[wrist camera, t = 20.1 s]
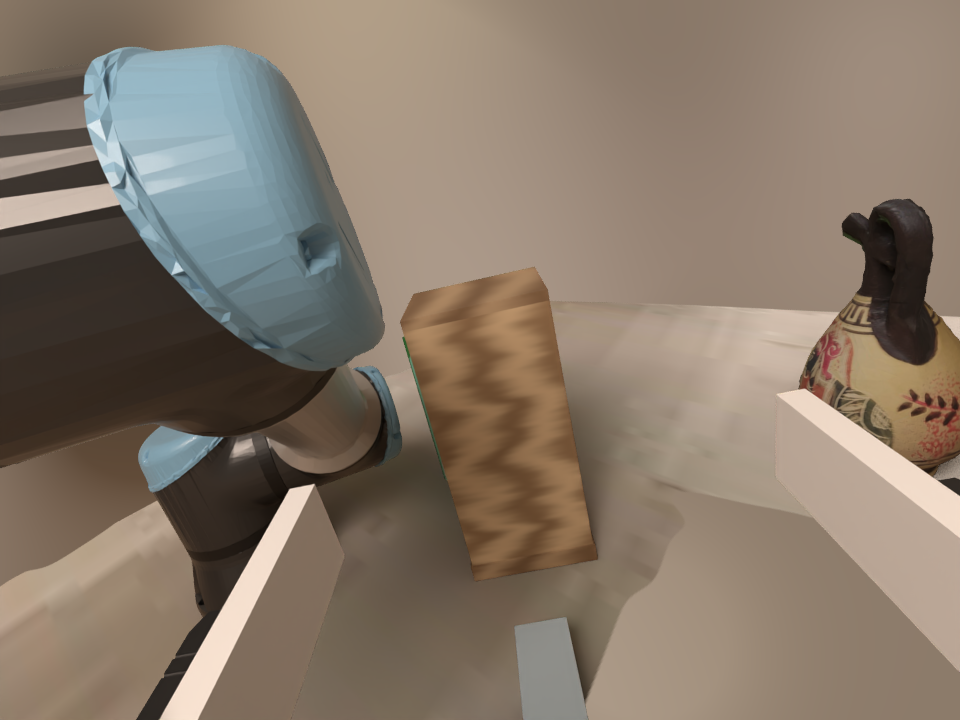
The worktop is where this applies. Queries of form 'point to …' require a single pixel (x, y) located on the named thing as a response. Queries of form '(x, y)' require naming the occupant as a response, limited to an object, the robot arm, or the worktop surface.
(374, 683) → the worktop surface
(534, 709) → the foil box
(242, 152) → the robot arm
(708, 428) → the worktop surface
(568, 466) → the oak box
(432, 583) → the worktop surface
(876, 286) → the ceramic jug
